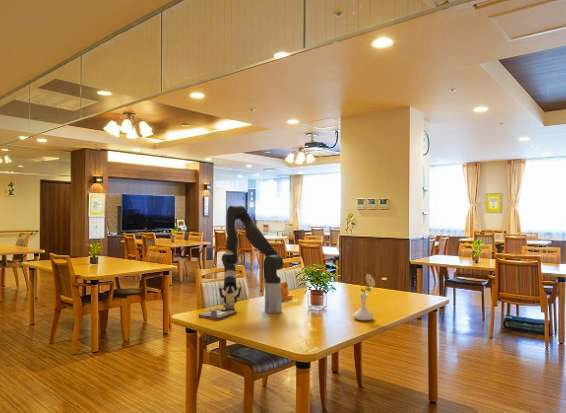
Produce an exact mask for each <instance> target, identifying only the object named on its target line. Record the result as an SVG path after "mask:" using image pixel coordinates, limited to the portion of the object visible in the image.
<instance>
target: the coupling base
mask: <svg viewBox="0 0 566 413" xmlns="http://www.w3.org/2000/svg"><path fill="white" fill-rule="evenodd" d="M212 310H215V311H217V316H216V317H214V316H211V311H212ZM235 315H237V310H235V311H231V310H225V311H221V308H214V309H211V310H209V311H205V312H202V313H199V314H198V318H201V319H208V320H214V321H222V320H224V319H227V318H229V317H231V316H232V317H233V316H235Z"/></svg>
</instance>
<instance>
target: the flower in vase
mask: <svg viewBox="0 0 566 413" xmlns="http://www.w3.org/2000/svg"><path fill="white" fill-rule="evenodd" d="M365 281H366V286H365V289H364V288H360V291H361V293H359V294H358V295H359V297H360V302H361V303H360V308H359V309H357V311H355V312H354V313H353V315H352V317H353V318H354V319H356V320H359V321H370V320H373V319H374V316H375V315H374V314H373V313H372V311H370V310H368V309H367V307H366V302H367V297H368V296H369V294H368V293H369V292H371V291H372V288H375V287H376V281H375V279H374V277H373V276H372V275H371V274H370V273H369V274H368V273H367V274H366V275H365ZM367 286H368V287H367ZM370 287H371V288H370ZM366 291H367V292H368V293H365V292H366Z"/></svg>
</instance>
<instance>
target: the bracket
mask: <svg viewBox="0 0 566 413" xmlns="http://www.w3.org/2000/svg"><path fill="white" fill-rule="evenodd" d="M288 287H289V284H288V282H287V281H282V280H281V288H280V295H282V302H285V300H286V301H291V299H293V298H294V297H293V296H294V295H293V294H289V290H288Z"/></svg>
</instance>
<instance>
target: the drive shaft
mask: <svg viewBox="0 0 566 413" xmlns="http://www.w3.org/2000/svg"><path fill="white" fill-rule="evenodd" d="M222 306H223V307H221V308H220V309H221V311H225V310H228V308H229V305H226V304H225V303H224V304H223V305H222Z"/></svg>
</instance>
